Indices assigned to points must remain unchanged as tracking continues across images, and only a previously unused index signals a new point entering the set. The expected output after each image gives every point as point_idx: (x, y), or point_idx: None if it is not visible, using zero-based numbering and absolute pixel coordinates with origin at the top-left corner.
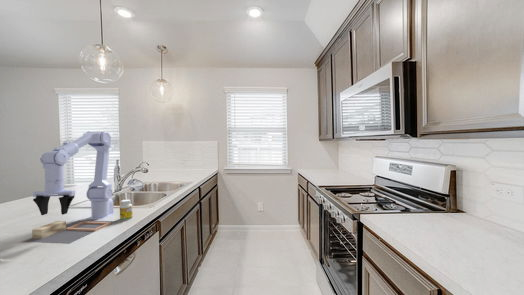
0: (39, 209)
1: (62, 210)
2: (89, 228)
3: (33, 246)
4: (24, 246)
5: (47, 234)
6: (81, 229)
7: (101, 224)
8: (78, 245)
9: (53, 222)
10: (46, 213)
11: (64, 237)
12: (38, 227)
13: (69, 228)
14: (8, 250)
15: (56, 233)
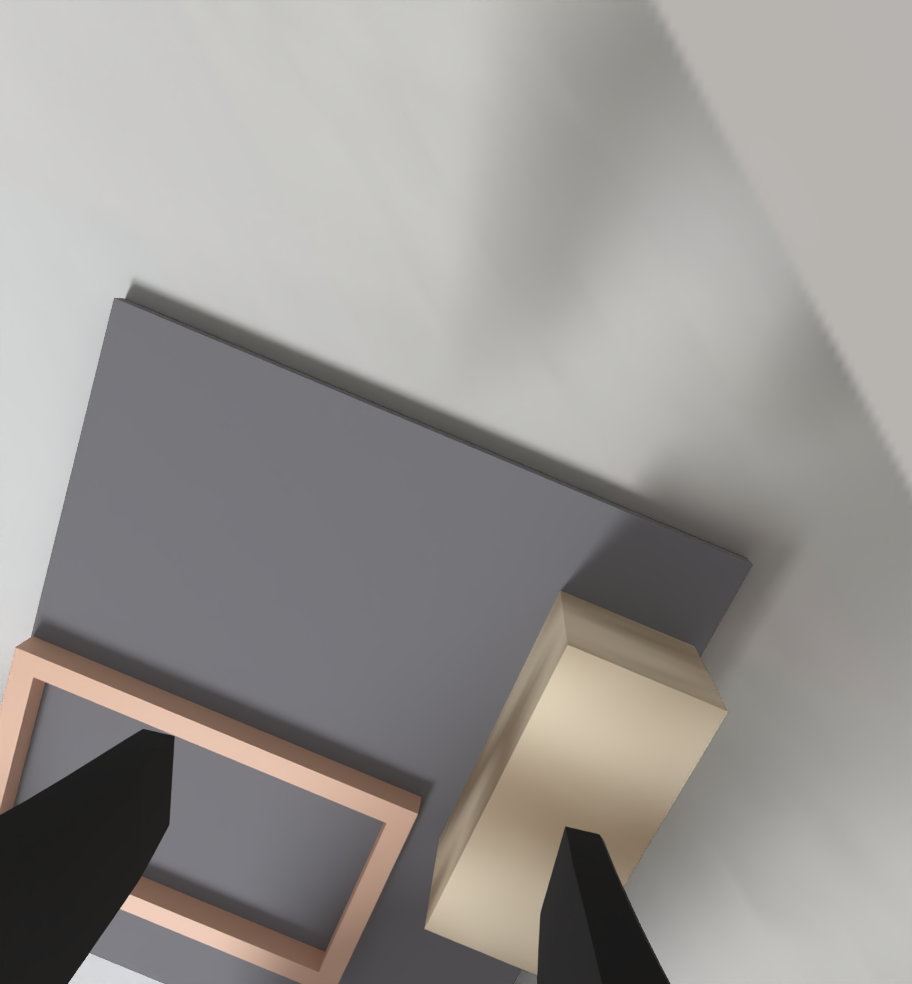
0: (647, 949)
1: (83, 778)
2: None
3: (545, 388)
4: (661, 424)
5: (532, 660)
6: (202, 719)
7: None
8: (3, 246)
9: None
10: (546, 910)
11: (295, 539)
12: (681, 779)
13: (367, 795)
14: (791, 345)
15: (476, 719)
